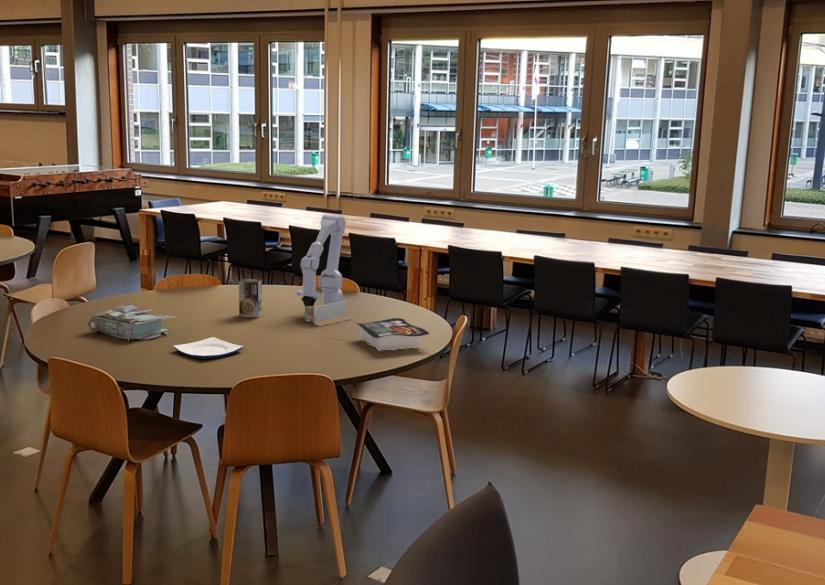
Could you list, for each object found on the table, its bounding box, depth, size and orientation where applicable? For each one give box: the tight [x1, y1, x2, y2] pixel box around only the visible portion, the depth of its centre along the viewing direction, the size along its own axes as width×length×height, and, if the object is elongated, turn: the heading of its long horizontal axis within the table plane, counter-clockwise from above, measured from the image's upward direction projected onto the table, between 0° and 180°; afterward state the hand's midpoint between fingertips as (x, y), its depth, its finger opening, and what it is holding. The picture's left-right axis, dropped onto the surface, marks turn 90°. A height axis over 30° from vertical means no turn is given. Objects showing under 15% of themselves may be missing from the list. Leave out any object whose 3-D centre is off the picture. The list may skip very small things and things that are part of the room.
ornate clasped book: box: [87, 304, 175, 342], centre depth 338 cm, size 23×10×30 cm
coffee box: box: [238, 278, 263, 318], centre depth 373 cm, size 9×6×16 cm
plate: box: [172, 336, 244, 360], centre depth 316 cm, size 20×20×3 cm
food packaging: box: [355, 317, 430, 352], centre depth 336 cm, size 25×8×23 cm
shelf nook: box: [304, 303, 331, 321], centre depth 372 cm, size 14×8×6 cm, turn 141°
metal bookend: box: [313, 300, 347, 324], centre depth 368 cm, size 19×4×8 cm, turn 141°
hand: (308, 312), depth 378 cm, fingers closed
